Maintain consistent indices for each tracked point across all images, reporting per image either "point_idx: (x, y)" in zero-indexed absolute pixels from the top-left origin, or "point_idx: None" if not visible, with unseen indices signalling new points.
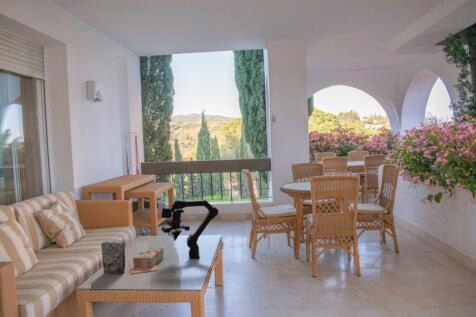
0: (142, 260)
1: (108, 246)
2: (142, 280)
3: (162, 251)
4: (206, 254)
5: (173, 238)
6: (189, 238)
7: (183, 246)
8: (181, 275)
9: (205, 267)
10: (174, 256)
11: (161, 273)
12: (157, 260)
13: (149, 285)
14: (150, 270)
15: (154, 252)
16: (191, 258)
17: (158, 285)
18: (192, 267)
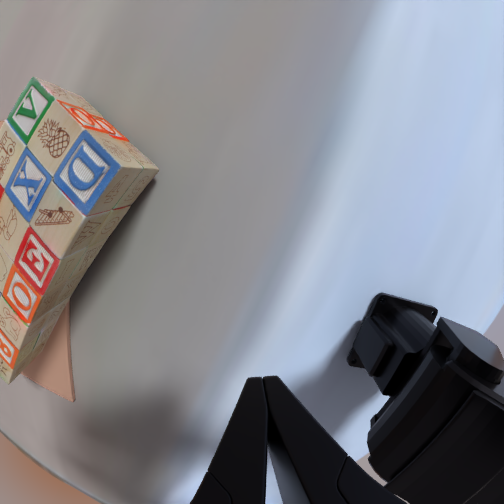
0: None
1: None
2: (31, 429)
3: (117, 190)
4: (477, 310)
5: (234, 411)
6: (416, 500)
7: (441, 4)
8: (176, 491)
9: None
10: (278, 184)
11: (94, 436)
12: (72, 287)
13: (60, 468)
14: (42, 384)
15: (16, 269)
16: (354, 364)
17: (87, 485)
18: None
